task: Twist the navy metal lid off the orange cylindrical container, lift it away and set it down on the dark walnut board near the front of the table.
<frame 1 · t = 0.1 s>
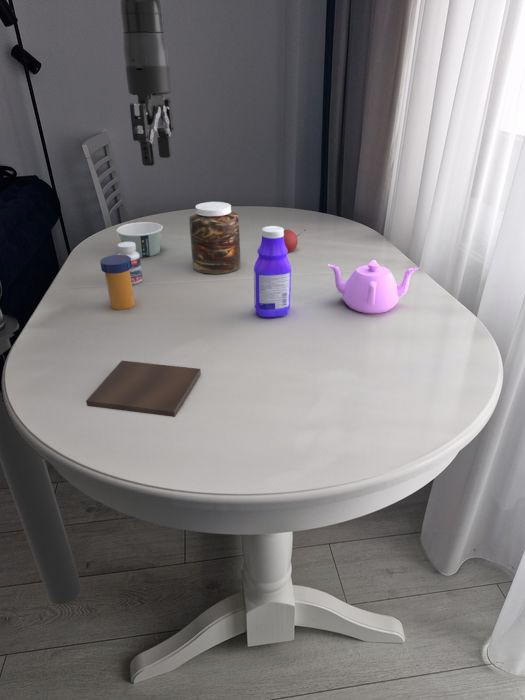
hand: (157, 161, 97), 28 cm above the table, tool pointing down, fingers open, 8 cm apart
fruit: (290, 250, 139), on the table
food container: (142, 252, 139), on the table
orange cylindrical container: (122, 304, 109), on the table
bottle: (272, 313, 104), on the table
board: (146, 389, 81), on the table
jar: (216, 266, 128), on the table
lid: (115, 261, 104), point 10 cm above the table, screwed on, not yet turned
pill bottle: (131, 281, 120), on the table
teapot: (368, 304, 107), on the table
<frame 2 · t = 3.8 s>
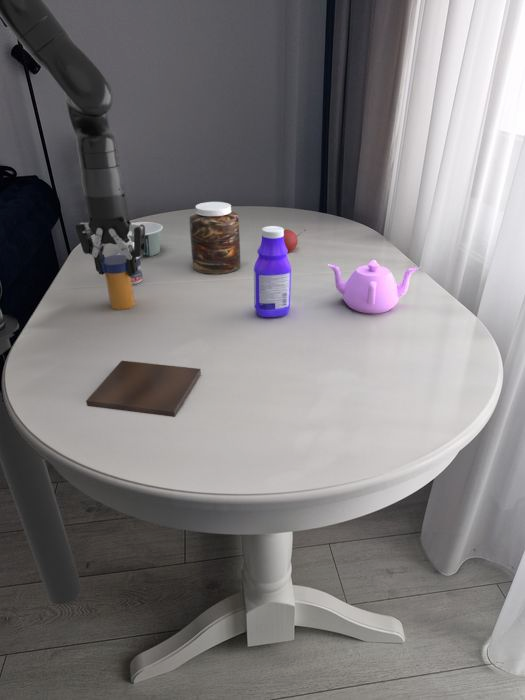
hand: (117, 274, 105), 7 cm above the table, tool pointing down, fingers closed on lid, 6 cm apart
lid: (115, 261, 104), point 10 cm above the table, screwed on, not yet turned, touching gripper
everything else where it was.
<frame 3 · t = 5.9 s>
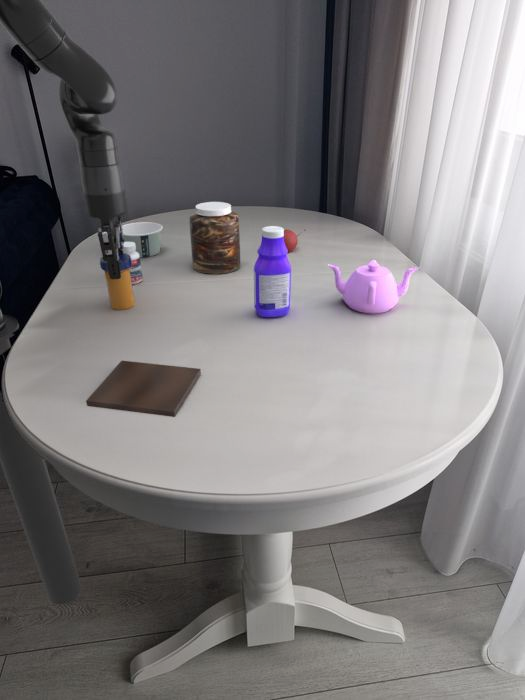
hand: (117, 272, 105), 7 cm above the table, tool pointing down, fingers closed on lid, 6 cm apart
lid: (115, 259, 104), point 10 cm above the table, off its thread, touching gripper
everything else where it was.
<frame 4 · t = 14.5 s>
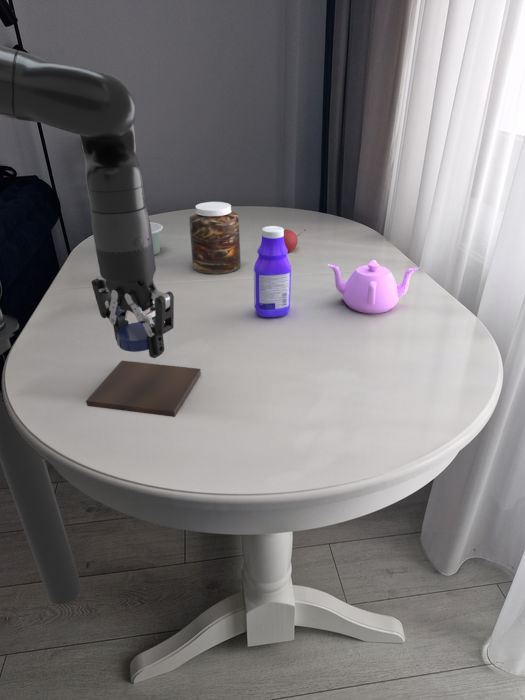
hand: (140, 349, 77), 7 cm above the table, tool pointing down, fingers closed on lid, 6 cm apart
lid: (137, 333, 75), point 10 cm above the table, off its thread, touching gripper
everything else where it was.
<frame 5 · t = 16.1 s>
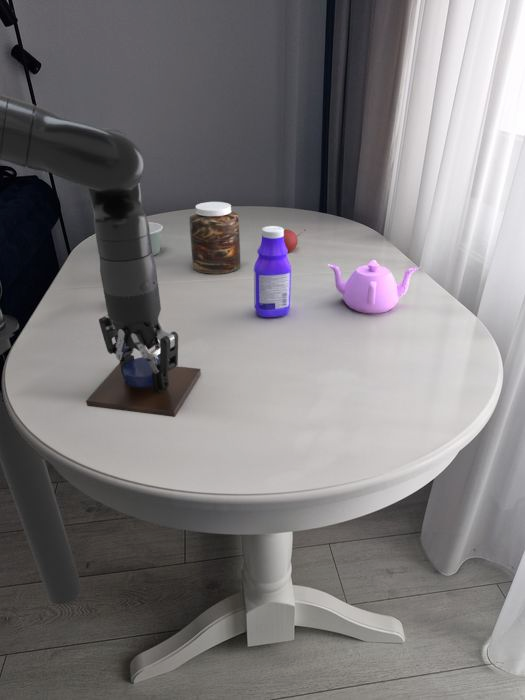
hand: (145, 383, 80), 1 cm above the table, tool pointing down, fingers closed on lid, 6 cm apart
lid: (143, 368, 79), point 4 cm above the table, off its thread, touching gripper
everything else where it was.
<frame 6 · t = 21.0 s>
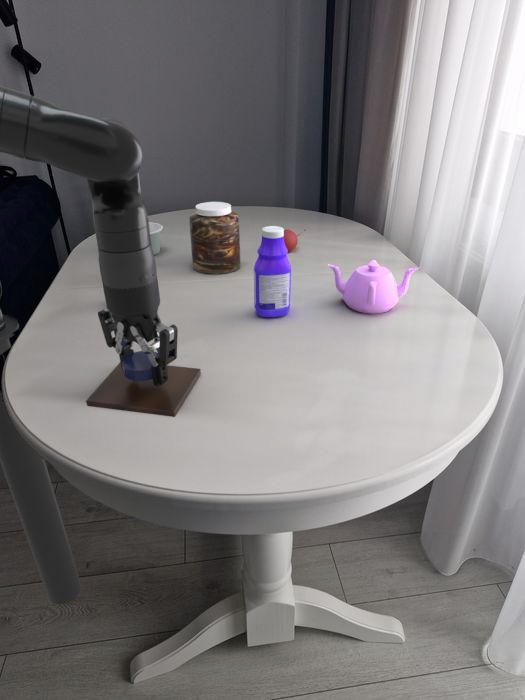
hand: (144, 377, 79), 2 cm above the table, tool pointing down, fingers closed on lid, 5 cm apart
lid: (142, 362, 78), point 5 cm above the table, off its thread, touching gripper
everything else where it was.
when the fingers open (2 cm above the table, at t = 25.2 s): lid drops 2 cm, resting on board.
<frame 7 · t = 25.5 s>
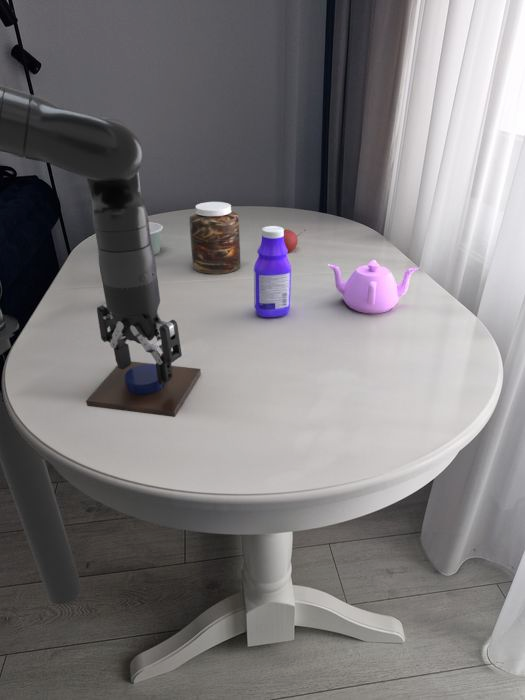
hand: (144, 374, 79), 3 cm above the table, tool pointing down, fingers open, 8 cm apart
lid: (144, 375, 79), point 2 cm above the table, off its thread, touching board
everything else where it was.
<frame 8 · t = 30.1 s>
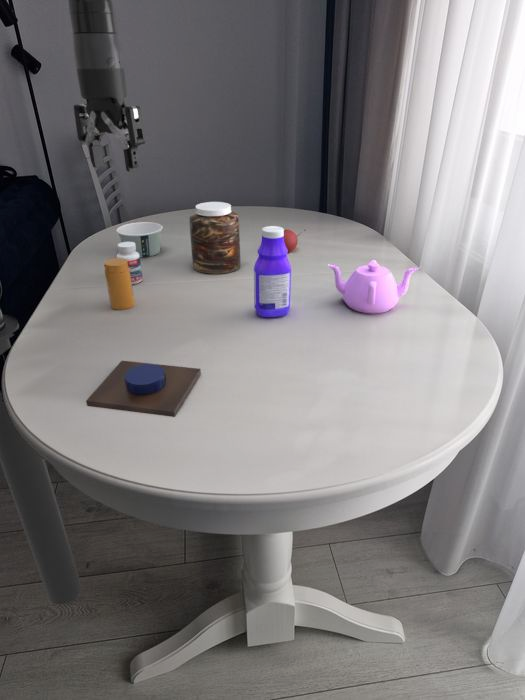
hand: (115, 168, 92), 28 cm above the table, tool pointing down, fingers open, 8 cm apart
nothing on the table moved.
at the end: lid inside the target area on the board (0.0 cm from its centre), point 2.5 cm above the board's base; lid point 2.5 cm above the table; the gripper is holding nothing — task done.
